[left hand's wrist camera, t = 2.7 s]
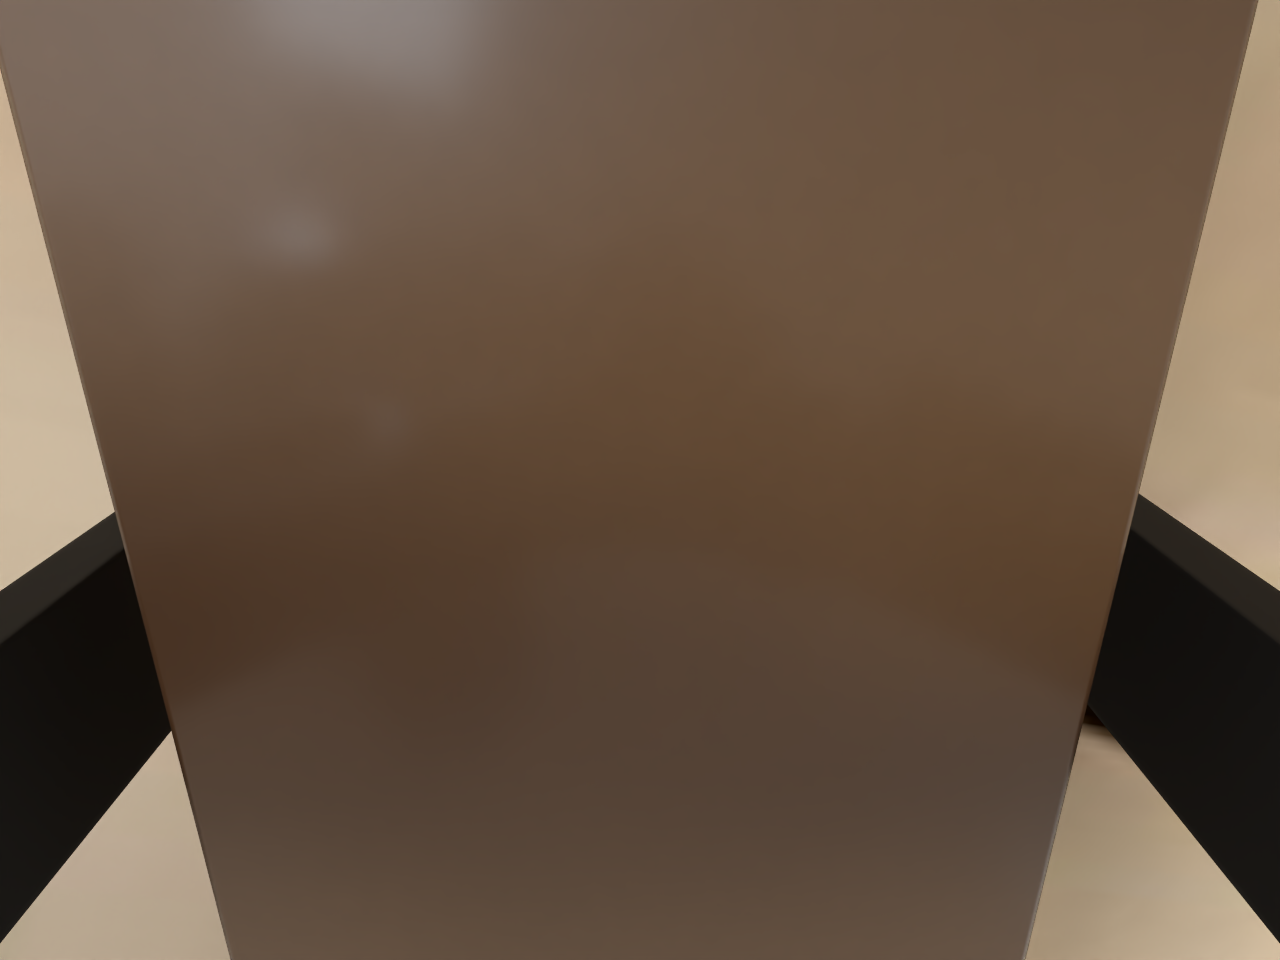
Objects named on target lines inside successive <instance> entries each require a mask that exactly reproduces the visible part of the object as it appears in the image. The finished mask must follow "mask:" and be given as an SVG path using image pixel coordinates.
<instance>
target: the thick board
mask: <svg viewBox="0 0 1280 960" xmlns="http://www.w3.org/2000/svg"><path fill="white" fill-rule="evenodd" d="M1257 4H1258V0H0V69H1V73H2V77H3V81H4V85H5V89H6V93H7V97H8V100H9V104H10V108H11V112H12V116H13V120H14V124H15V127H16V131H17V135H18V139H19V143H20V147H21V151H22V155H23V158H24V162H25V166H26V170H27V174H28V178H29V182H30V185H31V189H32V193H33V197H34V201H35V205H36V209H37V213H38V216H39V220H40V224H41V228H42V232H43V236H44V240H45V243H46V247H47V251H48V255H49V259H50V263H51V267H52V271H53V274H54V278H55V282H56V286H57V290H58V294H59V298H60V301H61V305H62V309H63V313H64V317H65V321H66V325H67V329H68V332H69V336H70V340H71V344H72V348H73V352H74V356H75V359H76V363H77V367H78V371H79V375H80V379H81V383H82V387H83V390H84V394H85V398H86V402H87V406H88V410H89V414H90V417H91V421H92V425H93V429H94V433H95V437H96V441H97V445H98V448H99V452H100V456H101V460H102V464H103V468H104V472H105V475H106V479H107V483H108V487H109V491H110V495H111V499H112V503H113V506H114V510H115V514H116V518H117V522H118V526H119V530H120V533H121V537H122V541H123V545H124V549H125V553H126V557H127V561H128V564H129V568H130V572H131V576H132V580H133V584H134V588H135V591H136V595H137V599H138V603H139V607H140V611H141V615H142V619H143V622H144V626H145V630H146V634H147V638H148V642H149V646H150V649H151V653H152V657H153V661H154V665H155V669H156V673H157V677H158V680H159V684H160V688H161V692H162V696H163V700H164V704H165V707H166V711H167V715H168V719H169V723H170V727H171V731H172V735H173V738H174V742H175V746H176V750H177V754H178V758H179V762H180V765H181V769H182V773H183V777H184V781H185V785H186V789H187V793H188V796H189V800H190V804H191V808H192V812H193V816H194V820H195V823H196V827H197V831H198V835H199V839H200V843H201V847H202V851H203V854H204V858H205V862H206V866H207V870H208V874H209V878H210V881H211V885H212V889H213V893H214V897H215V901H216V905H217V909H218V912H219V916H220V920H221V924H222V928H223V932H224V936H225V939H226V943H227V947H228V951H229V955H230V959H231V960H1025V958H1026V954H1027V950H1028V946H1029V942H1030V937H1031V933H1032V929H1033V925H1034V921H1035V917H1036V913H1037V909H1038V904H1039V900H1040V896H1041V892H1042V888H1043V884H1044V880H1045V876H1046V872H1047V867H1048V863H1049V859H1050V855H1051V851H1052V847H1053V843H1054V839H1055V835H1056V830H1057V826H1058V822H1059V818H1060V814H1061V810H1062V806H1063V802H1064V798H1065V793H1066V789H1067V785H1068V781H1069V777H1070V773H1071V769H1072V765H1073V761H1074V756H1075V752H1076V748H1077V744H1078V740H1079V736H1080V732H1081V728H1082V723H1083V719H1084V715H1085V711H1086V707H1087V703H1088V699H1089V695H1090V691H1091V686H1092V682H1093V678H1094V674H1095V670H1096V666H1097V662H1098V658H1099V654H1100V649H1101V645H1102V641H1103V637H1104V633H1105V629H1106V625H1107V621H1108V617H1109V612H1110V608H1111V604H1112V600H1113V596H1114V592H1115V588H1116V584H1117V580H1118V575H1119V571H1120V567H1121V563H1122V559H1123V555H1124V551H1125V547H1126V542H1127V538H1128V534H1129V530H1130V526H1131V522H1132V518H1133V514H1134V510H1135V505H1136V501H1137V497H1138V493H1139V489H1140V485H1141V481H1142V477H1143V473H1144V468H1145V464H1146V460H1147V456H1148V452H1149V448H1150V444H1151V440H1152V436H1153V431H1154V427H1155V423H1156V419H1157V415H1158V411H1159V407H1160V403H1161V399H1162V394H1163V390H1164V386H1165V382H1166V378H1167V374H1168V370H1169V366H1170V361H1171V357H1172V353H1173V349H1174V345H1175V341H1176V337H1177V333H1178V329H1179V324H1180V320H1181V316H1182V312H1183V308H1184V304H1185V300H1186V296H1187V292H1188V287H1189V283H1190V279H1191V275H1192V271H1193V267H1194V263H1195V259H1196V255H1197V250H1198V246H1199V242H1200V238H1201V234H1202V230H1203V226H1204V222H1205V218H1206V213H1207V209H1208V205H1209V201H1210V197H1211V193H1212V189H1213V185H1214V180H1215V176H1216V172H1217V168H1218V164H1219V160H1220V156H1221V152H1222V148H1223V143H1224V139H1225V135H1226V131H1227V127H1228V123H1229V119H1230V115H1231V111H1232V106H1233V102H1234V98H1235V94H1236V90H1237V86H1238V82H1239V78H1240V74H1241V69H1242V65H1243V61H1244V57H1245V53H1246V49H1247V45H1248V41H1249V36H1250V32H1251V28H1252V24H1253V20H1254V16H1255V12H1256V8H1257Z"/></svg>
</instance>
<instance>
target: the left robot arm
mask: <svg viewBox="0 0 1280 960" xmlns="http://www.w3.org/2000/svg"><path fill="white" fill-rule="evenodd" d="M1087 704H1088V705H1089V707H1090V708H1091V709H1092V710H1093V712H1094V713H1095V714H1096V715H1097V717H1098V718H1099V719H1100V720H1101V722H1102V723H1103V724H1104V725H1105V727H1106V728H1107V729H1108V730H1109V732H1110V733H1111V734H1112V735H1113V737H1114V738H1115V739H1116V740H1117V741H1118V743H1119V744H1120V745H1121V746H1122V748H1123V749H1124V750H1125V751H1126V753H1127V754H1128V755H1129V756H1130V758H1131V759H1132V760H1133V761H1134V763H1135V764H1136V765H1137V766H1138V768H1139V769H1140V770H1141V771H1142V773H1143V774H1144V775H1145V776H1146V778H1147V779H1148V780H1149V781H1150V783H1151V784H1152V785H1153V786H1154V787H1155V789H1156V790H1157V791H1158V792H1159V794H1160V795H1161V796H1162V797H1163V799H1164V800H1165V801H1166V802H1167V804H1168V805H1169V806H1170V807H1171V809H1172V810H1173V811H1174V812H1175V814H1176V815H1177V816H1178V817H1179V819H1180V820H1181V821H1182V822H1183V824H1184V825H1185V826H1186V827H1187V828H1188V830H1189V831H1190V832H1191V833H1192V835H1193V836H1194V837H1195V838H1196V840H1197V841H1198V842H1199V843H1200V845H1201V846H1202V847H1203V848H1204V850H1205V851H1206V852H1207V853H1208V855H1209V856H1210V857H1211V858H1212V860H1213V861H1214V862H1215V863H1216V865H1217V866H1218V867H1219V868H1220V870H1221V871H1222V872H1223V873H1224V874H1225V876H1226V877H1227V878H1228V879H1229V881H1230V882H1231V883H1232V884H1233V886H1234V887H1235V888H1236V889H1237V891H1238V892H1239V893H1240V894H1241V896H1242V897H1243V898H1244V899H1245V901H1246V902H1247V903H1248V904H1249V906H1250V907H1251V908H1252V909H1253V911H1254V912H1255V913H1256V914H1257V915H1258V917H1259V918H1260V919H1261V920H1262V922H1263V923H1264V924H1265V925H1266V927H1267V928H1268V929H1269V930H1270V932H1271V933H1272V934H1273V935H1274V937H1275V938H1276V939H1277V940H1278V942H1279V943H1280V591H1279V590H1277V589H1276V588H1274V587H1273V586H1271V585H1270V584H1269V583H1267V582H1266V581H1264V580H1263V579H1261V578H1260V577H1258V576H1257V575H1256V574H1254V573H1253V572H1251V571H1250V570H1248V569H1247V568H1245V567H1244V566H1243V565H1241V564H1240V563H1238V562H1237V561H1235V560H1234V559H1232V558H1231V557H1230V556H1228V555H1227V554H1225V553H1224V552H1222V551H1221V550H1220V549H1218V548H1217V547H1215V546H1214V545H1212V544H1211V543H1209V542H1208V541H1207V540H1205V539H1204V538H1202V537H1201V536H1199V535H1198V534H1196V533H1195V532H1194V531H1192V530H1191V529H1189V528H1188V527H1186V526H1185V525H1183V524H1182V523H1181V522H1179V521H1178V520H1176V519H1175V518H1173V517H1172V516H1170V515H1169V514H1168V513H1166V512H1165V511H1163V510H1162V509H1160V508H1159V507H1157V506H1156V505H1155V504H1153V503H1152V502H1150V501H1149V500H1147V499H1146V498H1144V497H1143V496H1142V495H1140V494H1139V493H1138V497H1137V501H1136V505H1135V510H1134V514H1133V518H1132V522H1131V526H1130V530H1129V534H1128V538H1127V542H1126V547H1125V551H1124V555H1123V559H1122V563H1121V567H1120V571H1119V575H1118V580H1117V584H1116V588H1115V592H1114V596H1113V600H1112V604H1111V608H1110V612H1109V617H1108V621H1107V625H1106V629H1105V633H1104V637H1103V641H1102V645H1101V649H1100V654H1099V658H1098V662H1097V666H1096V670H1095V674H1094V678H1093V682H1092V686H1091V691H1090V695H1089V699H1088V703H1087ZM170 732H171V727H170V723H169V719H168V715H167V711H166V707H165V704H164V700H163V696H162V692H161V688H160V684H159V680H158V677H157V673H156V669H155V665H154V661H153V657H152V653H151V649H150V646H149V642H148V638H147V634H146V630H145V626H144V622H143V619H142V615H141V611H140V607H139V603H138V599H137V595H136V591H135V588H134V584H133V580H132V576H131V572H130V568H129V564H128V561H127V557H126V553H125V549H124V545H123V541H122V537H121V533H120V530H119V526H118V522H117V518H116V514H115V512H114V513H112V514H111V515H110V516H108V517H107V518H105V519H104V520H102V521H101V522H99V523H98V524H97V525H95V526H94V527H92V528H91V529H89V530H88V531H86V532H85V533H84V534H82V535H81V536H79V537H78V538H76V539H75V540H73V541H72V542H71V543H69V544H68V545H66V546H65V547H63V548H62V549H60V550H59V551H58V552H56V553H55V554H53V555H52V556H50V557H49V558H47V559H46V560H45V561H43V562H42V563H40V564H39V565H37V566H36V567H34V568H33V569H32V570H30V571H29V572H27V573H26V574H24V575H23V576H21V577H20V578H19V579H17V580H16V581H14V582H13V583H11V584H10V585H8V586H7V587H6V588H4V589H3V590H1V591H0V943H1V942H2V940H3V939H4V938H5V937H6V935H7V934H8V933H9V932H10V930H11V929H12V928H13V927H14V925H15V924H16V923H17V922H18V920H19V919H20V918H21V917H22V915H23V914H24V913H25V912H26V910H27V909H28V908H29V907H30V906H31V904H32V903H33V902H34V901H35V899H36V898H37V897H38V896H39V894H40V893H41V892H42V891H43V889H44V888H45V887H46V886H47V884H48V883H49V882H50V881H51V879H52V878H53V877H54V876H55V874H56V873H57V872H58V871H59V869H60V868H61V867H62V866H63V864H64V863H65V862H66V861H67V860H68V858H69V857H70V856H71V855H72V853H73V852H74V851H75V850H76V848H77V847H78V846H79V845H80V843H81V842H82V841H83V840H84V838H85V837H86V836H87V835H88V833H89V832H90V831H91V830H92V828H93V827H94V826H95V825H96V823H97V822H98V821H99V820H100V819H101V817H102V816H103V815H104V814H105V812H106V811H107V810H108V809H109V807H110V806H111V805H112V804H113V802H114V801H115V800H116V799H117V797H118V796H119V795H120V794H121V792H122V791H123V790H124V789H125V787H126V786H127V785H128V784H129V782H130V781H131V780H132V779H133V778H134V776H135V775H136V774H137V773H138V771H139V770H140V769H141V768H142V766H143V765H144V764H145V763H146V761H147V760H148V759H149V758H150V756H151V755H152V754H153V753H154V751H155V750H156V749H157V748H158V746H159V745H160V744H161V743H162V741H163V740H164V739H165V738H166V736H167V735H168V734H169V733H170Z"/></svg>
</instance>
